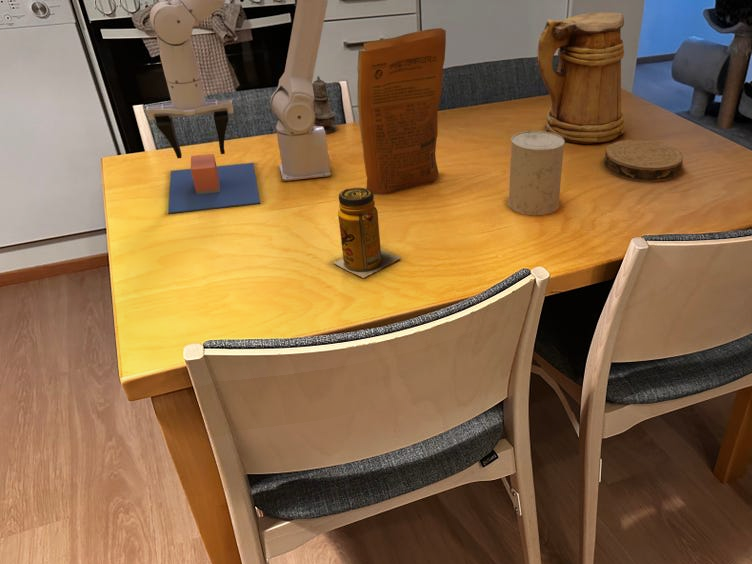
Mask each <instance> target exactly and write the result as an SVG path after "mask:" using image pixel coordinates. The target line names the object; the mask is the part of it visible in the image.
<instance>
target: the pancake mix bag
mask: <svg viewBox="0 0 752 564" xmlns="http://www.w3.org/2000/svg"><path fill="white" fill-rule="evenodd" d="M446 43H447V31H446V29H444V28H442V27H437V28H429V29H424V30H418V31H413V32H409V33H405V34H402V35H398V36H395V37H390V38H384V39H379V40H371V41H368V42H364V43H363V47H364V49H359V50H358V56H357V67H356V68H357V95H356V96H357V111H358V123H359V129H360V130H359V131H360V138H361V139H360V140H361V145H362V154H363V155H362V156H363V162H364V167H365V169H364V170H365V175H366V187H365V189H369V190H370V191H372V193H373V194H378V195H385V194H391V193H392V194H393V193H395V192H400V191H404V190H407V189H410V188H414V187H418V186H422V185H427V184H431V183H434V182H435V181H437V180H438V178H439V174H440V173H439V168H438V163H437V158H436V151H437V150H436V149H437V141H438V140H437V139H438V135H439V134H438V129H439V127H438V126H439V125H438V124H439V123H438V118H439V117H438V116H439V115H438V112H439V106H440V101H441V95H442V88H443V75H444V66H445V59H446V46H447V44H446Z"/></svg>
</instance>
